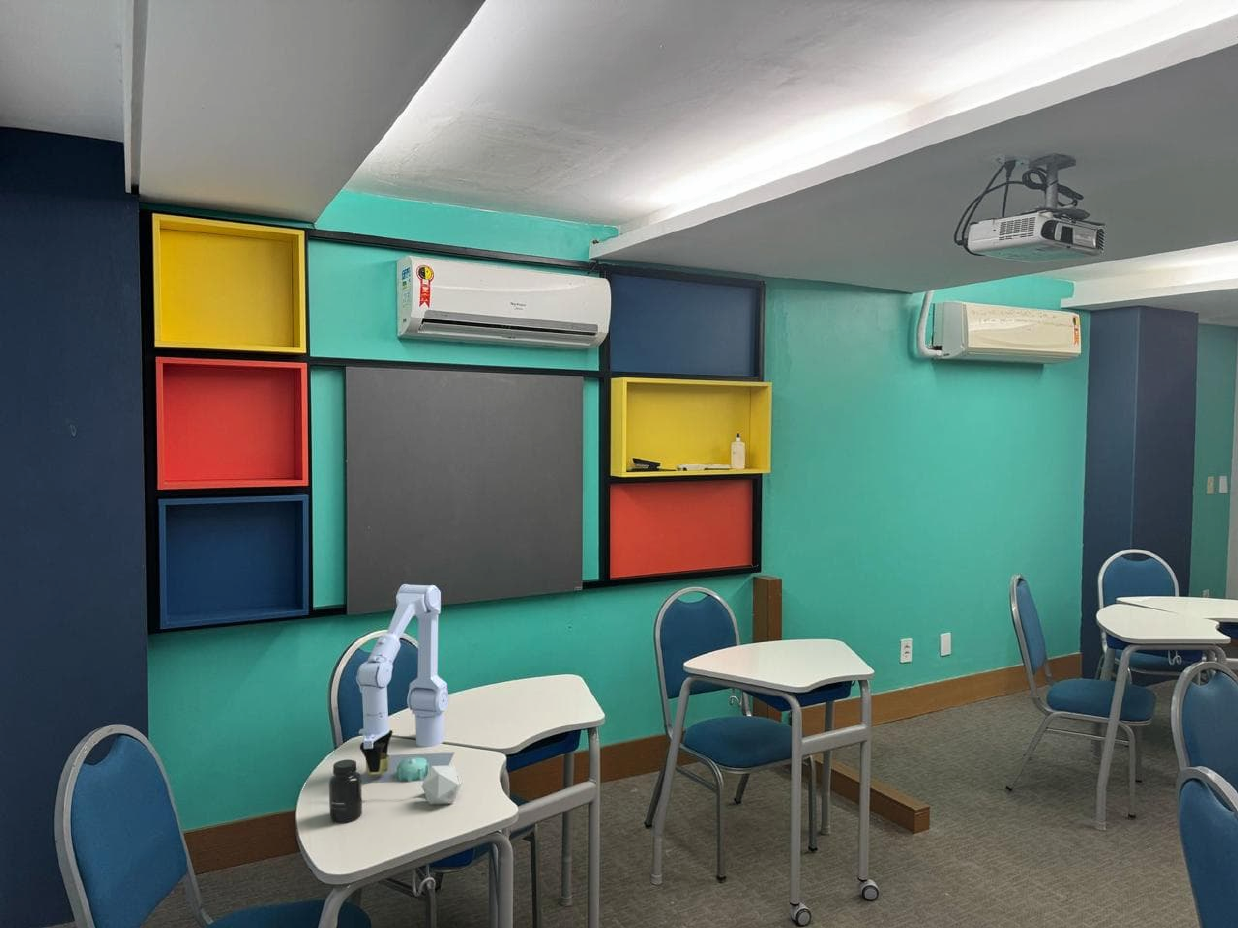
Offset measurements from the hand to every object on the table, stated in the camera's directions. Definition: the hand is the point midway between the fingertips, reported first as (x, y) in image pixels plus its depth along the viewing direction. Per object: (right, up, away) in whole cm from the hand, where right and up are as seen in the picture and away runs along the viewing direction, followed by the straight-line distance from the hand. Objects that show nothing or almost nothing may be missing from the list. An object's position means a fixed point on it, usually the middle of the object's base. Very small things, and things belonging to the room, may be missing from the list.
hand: (377, 766), depth 202 cm
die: (+18, -4, -12) cm, 22 cm away
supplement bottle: (-2, -5, -18) cm, 19 cm away
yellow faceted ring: (0, -1, 0) cm, 1 cm away
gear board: (+6, -3, +5) cm, 9 cm away
